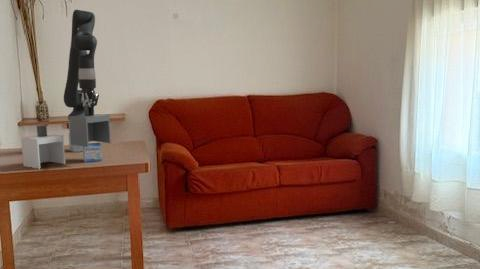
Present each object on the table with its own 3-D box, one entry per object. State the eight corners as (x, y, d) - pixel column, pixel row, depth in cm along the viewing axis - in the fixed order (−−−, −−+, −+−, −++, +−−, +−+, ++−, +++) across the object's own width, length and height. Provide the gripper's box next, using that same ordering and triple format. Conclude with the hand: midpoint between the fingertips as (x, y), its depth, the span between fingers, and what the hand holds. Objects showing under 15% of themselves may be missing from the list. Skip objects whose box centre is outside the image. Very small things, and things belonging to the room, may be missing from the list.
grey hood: (23, 165, 217) (20, 126, 214) (49, 161, 227) (46, 123, 225) (39, 169, 209) (35, 127, 207) (65, 163, 220) (62, 124, 217)
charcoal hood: (70, 144, 223) (68, 105, 220) (94, 140, 233) (91, 103, 231) (87, 146, 215) (85, 106, 213) (110, 143, 226) (108, 104, 223)
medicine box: (85, 162, 222) (83, 144, 221) (83, 161, 226) (82, 143, 225) (102, 160, 225) (101, 143, 224) (100, 159, 229) (99, 142, 228)
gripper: (71, 78, 221) (73, 114, 223) (89, 78, 213) (91, 116, 215) (84, 78, 227) (87, 113, 229) (103, 78, 219) (105, 114, 221)
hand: (89, 114), depth 222 cm, fingers closed on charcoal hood, 3 cm apart
